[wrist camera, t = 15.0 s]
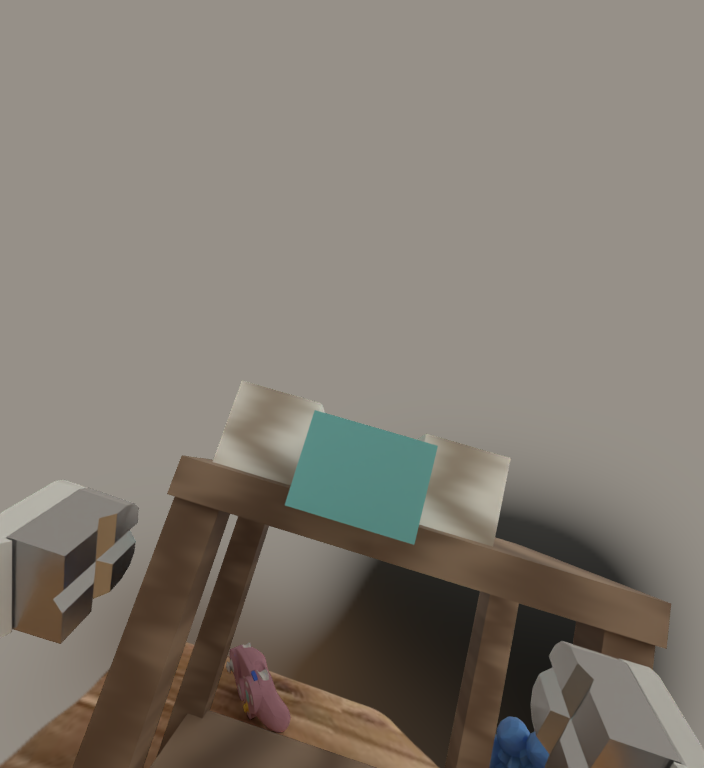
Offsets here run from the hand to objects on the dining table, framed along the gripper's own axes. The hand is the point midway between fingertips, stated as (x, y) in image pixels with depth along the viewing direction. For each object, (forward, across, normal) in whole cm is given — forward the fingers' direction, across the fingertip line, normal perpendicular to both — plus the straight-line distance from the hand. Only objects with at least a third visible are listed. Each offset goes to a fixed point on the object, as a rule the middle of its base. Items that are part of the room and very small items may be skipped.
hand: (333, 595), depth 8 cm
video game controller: (+26, +4, +44) cm, 52 cm away
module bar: (+15, 0, +7) cm, 16 cm away
